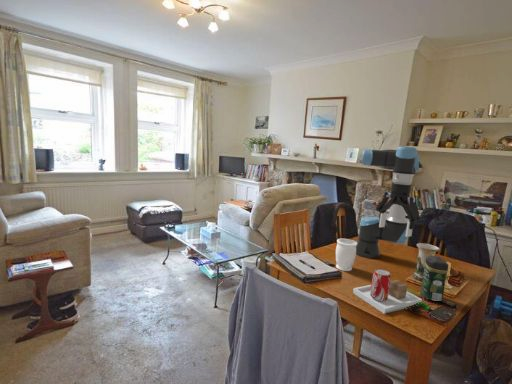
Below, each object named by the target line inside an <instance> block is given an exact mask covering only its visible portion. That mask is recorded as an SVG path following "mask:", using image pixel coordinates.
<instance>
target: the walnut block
mask: <svg viewBox="0 0 512 384" xmlns="http://www.w3.org/2000/svg"><path fill="white" fill-rule="evenodd" d="M406 292H408V284H406V283H405V282H403V281H401V280H399V279H394V280H391V281H390V288H389V295H390V296H392V297H394V298H395V299H397V300H399V299H403V298H406Z"/></svg>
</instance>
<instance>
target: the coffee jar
mask: <svg viewBox="0 0 512 384" xmlns="http://www.w3.org/2000/svg"><path fill="white" fill-rule="evenodd" d="M448 271H449V264H448V263H447V262H446V260H444V259H443V258H441V256H438V255H429V256H426V258H425V262H424V270H423V275H422V281H421V286H420V294H421V296H422V297H423V296H424V297H425V298H428V299H430V300H434V301H442V302H443V300H444V299H443V298H444V293H445V292H444V291H445V286H446V279H447V275H448ZM424 297H423V298H424ZM425 298H424V299H425Z"/></svg>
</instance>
